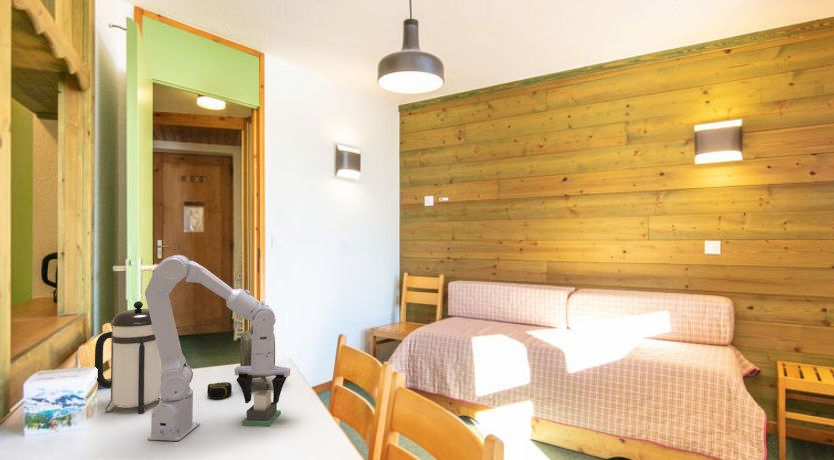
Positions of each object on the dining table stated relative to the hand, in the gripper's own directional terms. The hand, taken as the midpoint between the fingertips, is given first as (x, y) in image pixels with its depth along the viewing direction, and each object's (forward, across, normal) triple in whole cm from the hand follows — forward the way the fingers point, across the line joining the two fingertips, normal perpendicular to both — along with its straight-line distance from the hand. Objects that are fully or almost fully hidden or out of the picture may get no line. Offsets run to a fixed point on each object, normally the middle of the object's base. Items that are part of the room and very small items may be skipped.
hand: (262, 402), depth 120 cm
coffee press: (+5, +40, -6) cm, 41 cm away
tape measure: (+5, +20, -16) cm, 26 cm away
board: (+5, 0, 0) cm, 5 cm away
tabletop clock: (+5, +12, -26) cm, 29 cm away
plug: (+4, 0, 0) cm, 4 cm away
